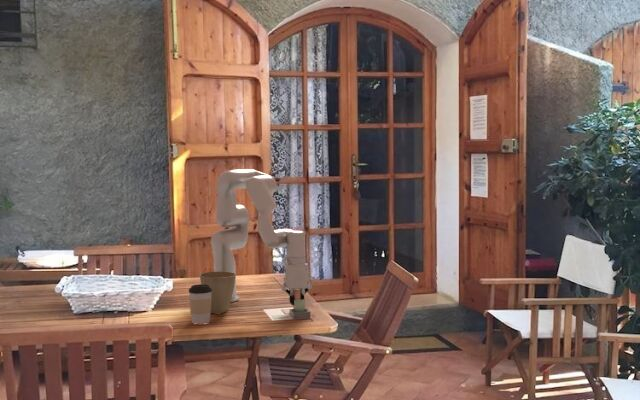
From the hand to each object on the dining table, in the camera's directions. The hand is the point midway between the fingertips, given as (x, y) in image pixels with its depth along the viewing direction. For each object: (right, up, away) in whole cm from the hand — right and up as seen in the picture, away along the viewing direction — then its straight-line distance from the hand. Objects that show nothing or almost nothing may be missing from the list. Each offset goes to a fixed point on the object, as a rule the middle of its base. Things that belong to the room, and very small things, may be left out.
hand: (297, 304), depth 308 cm
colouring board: (-4, -4, -4) cm, 7 cm away
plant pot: (-33, -4, +3) cm, 33 cm away
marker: (0, -2, 0) cm, 2 cm away
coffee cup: (-37, -5, -15) cm, 41 cm away
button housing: (+1, -4, -9) cm, 10 cm away
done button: (+1, -2, -9) cm, 10 cm away
